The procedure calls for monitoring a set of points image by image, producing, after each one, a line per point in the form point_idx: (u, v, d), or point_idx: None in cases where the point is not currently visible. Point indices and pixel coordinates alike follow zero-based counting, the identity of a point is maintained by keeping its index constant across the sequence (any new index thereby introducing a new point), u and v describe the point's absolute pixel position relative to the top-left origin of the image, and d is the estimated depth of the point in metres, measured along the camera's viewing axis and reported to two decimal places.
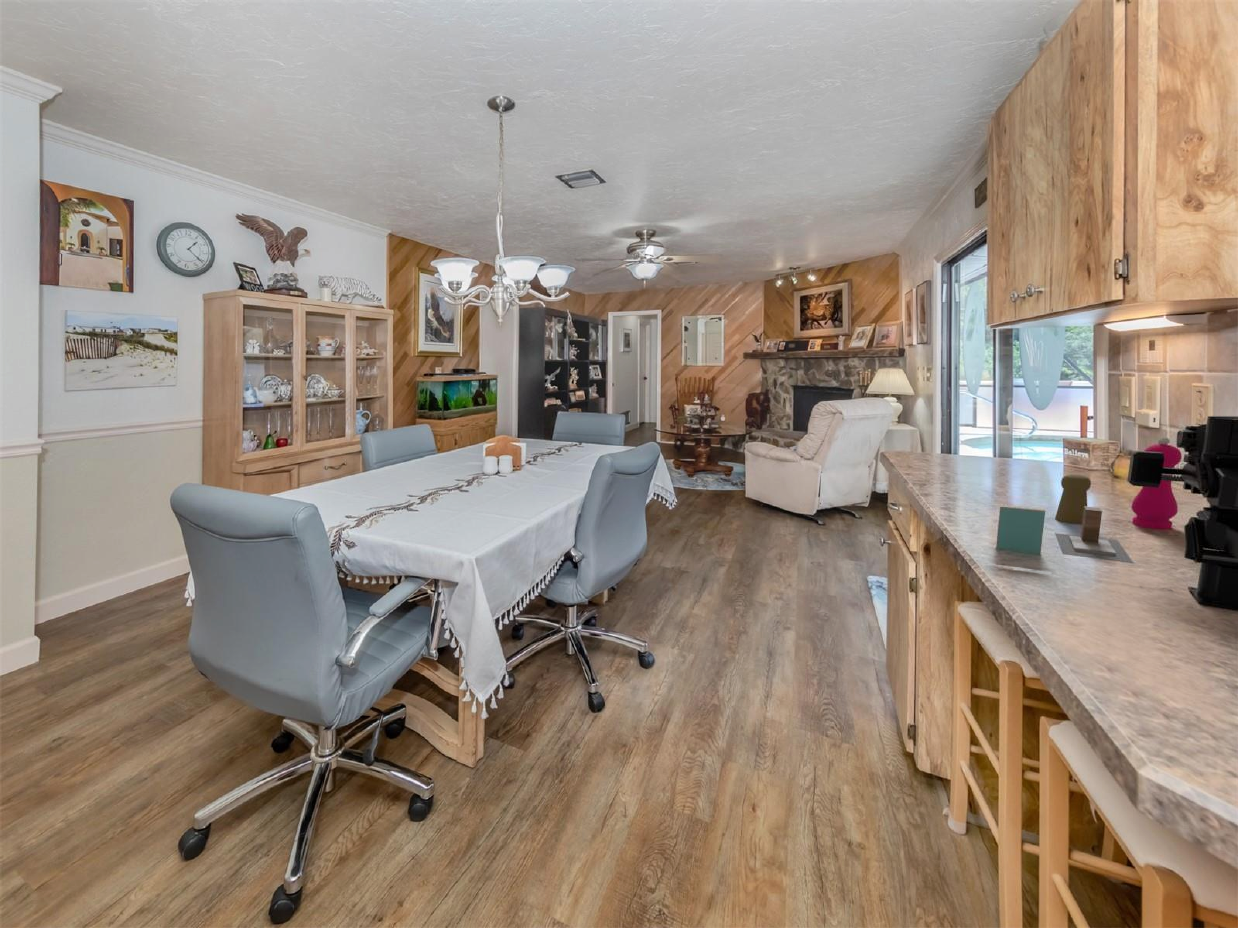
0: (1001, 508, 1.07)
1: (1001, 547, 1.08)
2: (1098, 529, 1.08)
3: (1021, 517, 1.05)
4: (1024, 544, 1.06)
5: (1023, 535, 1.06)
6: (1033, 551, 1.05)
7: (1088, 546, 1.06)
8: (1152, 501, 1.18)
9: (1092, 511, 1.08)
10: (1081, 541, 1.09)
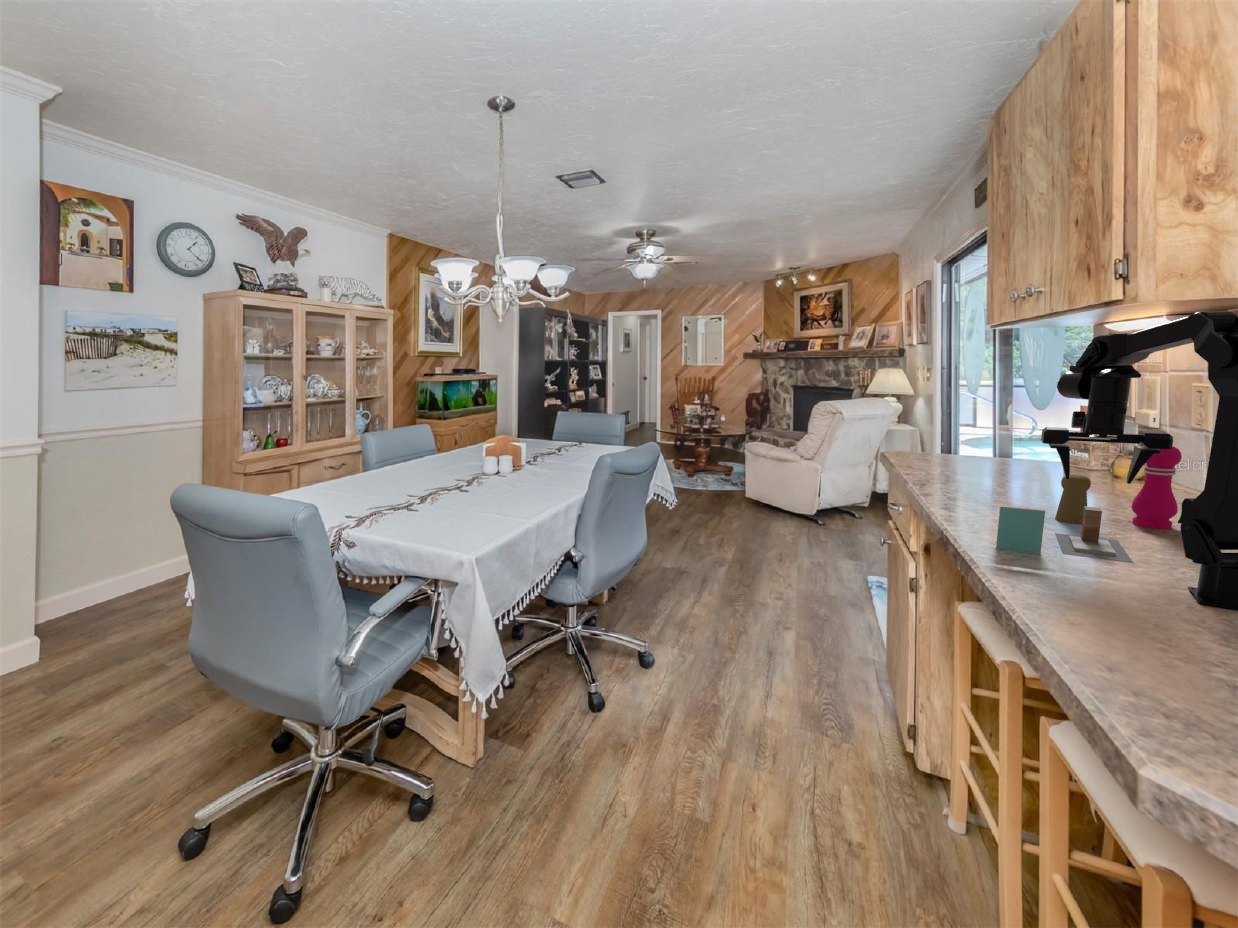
0: (1001, 508, 1.07)
1: (1001, 547, 1.08)
2: (1098, 529, 1.08)
3: (1021, 517, 1.05)
4: (1024, 544, 1.06)
5: (1023, 535, 1.06)
6: (1033, 551, 1.05)
7: (1088, 546, 1.06)
8: (1152, 501, 1.18)
9: (1092, 511, 1.08)
10: (1081, 541, 1.09)
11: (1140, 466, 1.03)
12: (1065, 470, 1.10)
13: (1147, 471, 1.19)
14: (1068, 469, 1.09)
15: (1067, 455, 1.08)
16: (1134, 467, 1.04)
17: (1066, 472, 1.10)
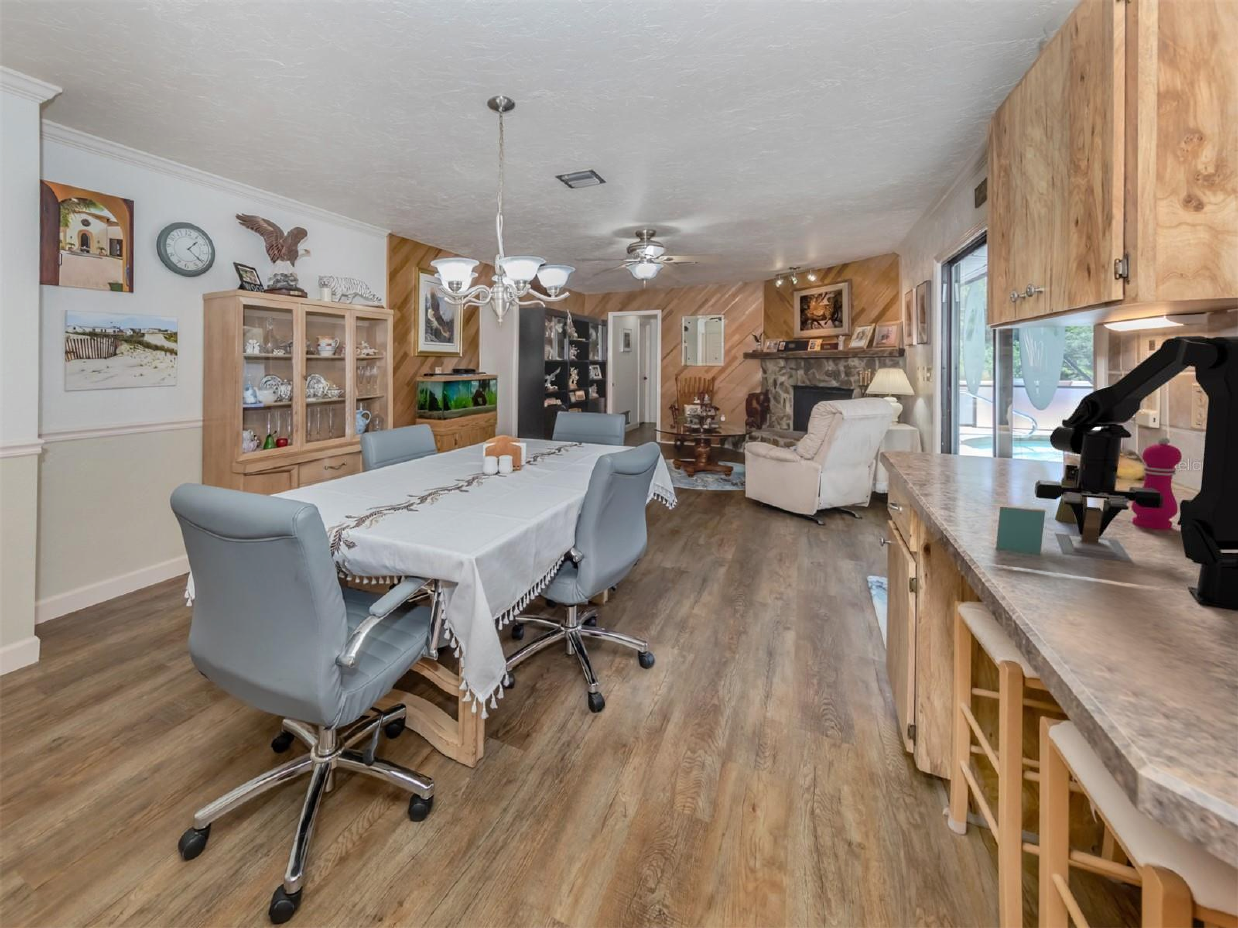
0: (1001, 508, 1.07)
1: (1001, 547, 1.08)
2: (1098, 529, 1.08)
3: (1021, 517, 1.05)
4: (1024, 544, 1.06)
5: (1023, 535, 1.06)
6: (1033, 551, 1.05)
7: (1088, 546, 1.06)
8: None
9: (1092, 511, 1.08)
10: (1081, 541, 1.09)
11: (1109, 521, 1.07)
12: (1079, 526, 1.10)
13: (1147, 471, 1.19)
14: (1082, 525, 1.10)
15: (1081, 512, 1.08)
16: (1103, 521, 1.07)
17: (1080, 528, 1.10)
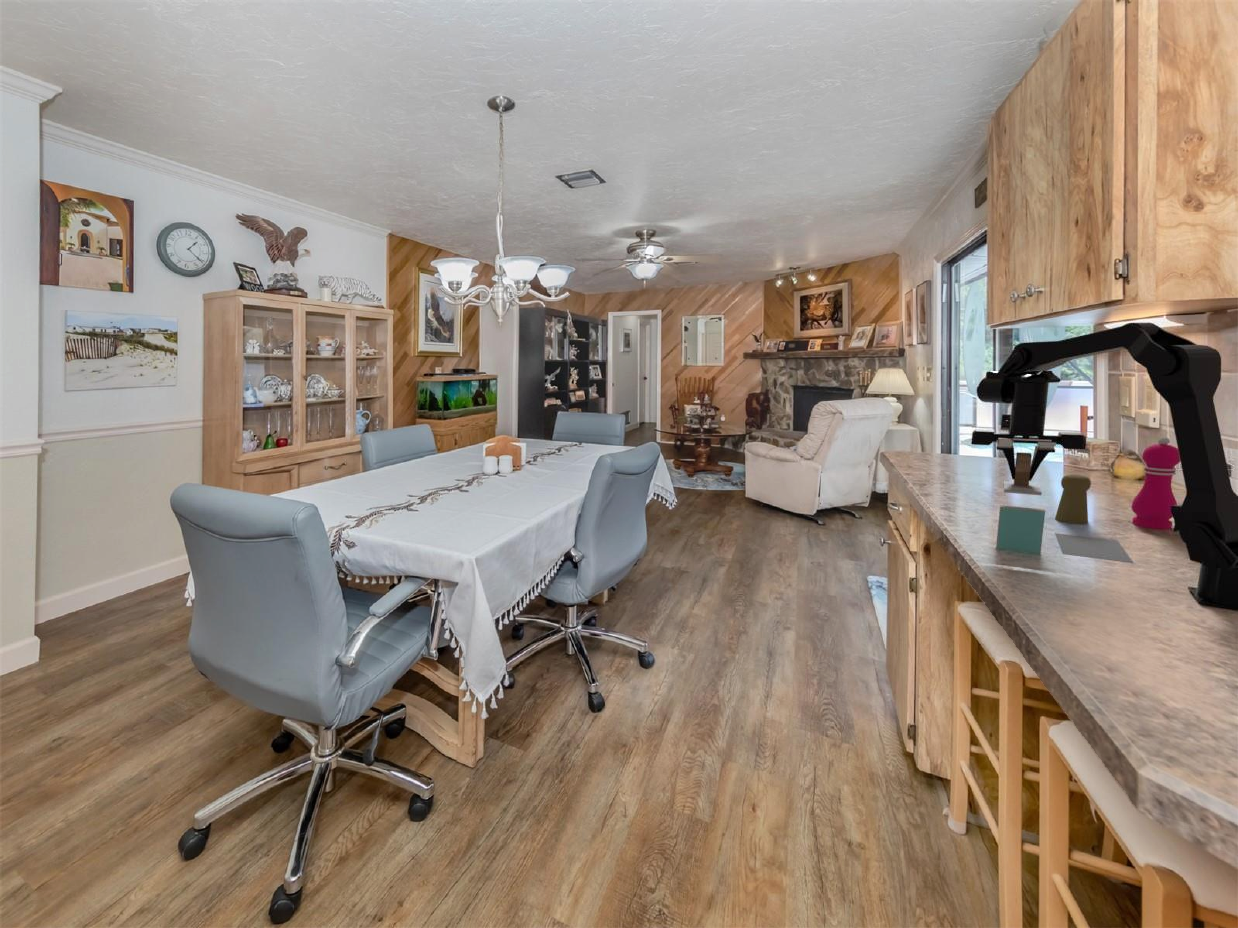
0: (1001, 508, 1.07)
1: (1001, 547, 1.08)
2: (1028, 473, 1.13)
3: (1021, 517, 1.05)
4: (1024, 544, 1.06)
5: (1023, 535, 1.06)
6: (1033, 551, 1.05)
7: (1018, 488, 1.11)
8: (1152, 501, 1.18)
9: (1022, 455, 1.13)
10: (1013, 485, 1.14)
11: (1038, 464, 1.12)
12: (1011, 471, 1.15)
13: (1147, 471, 1.19)
14: (1013, 470, 1.14)
15: (1012, 456, 1.13)
16: (1033, 465, 1.12)
17: (1012, 473, 1.15)
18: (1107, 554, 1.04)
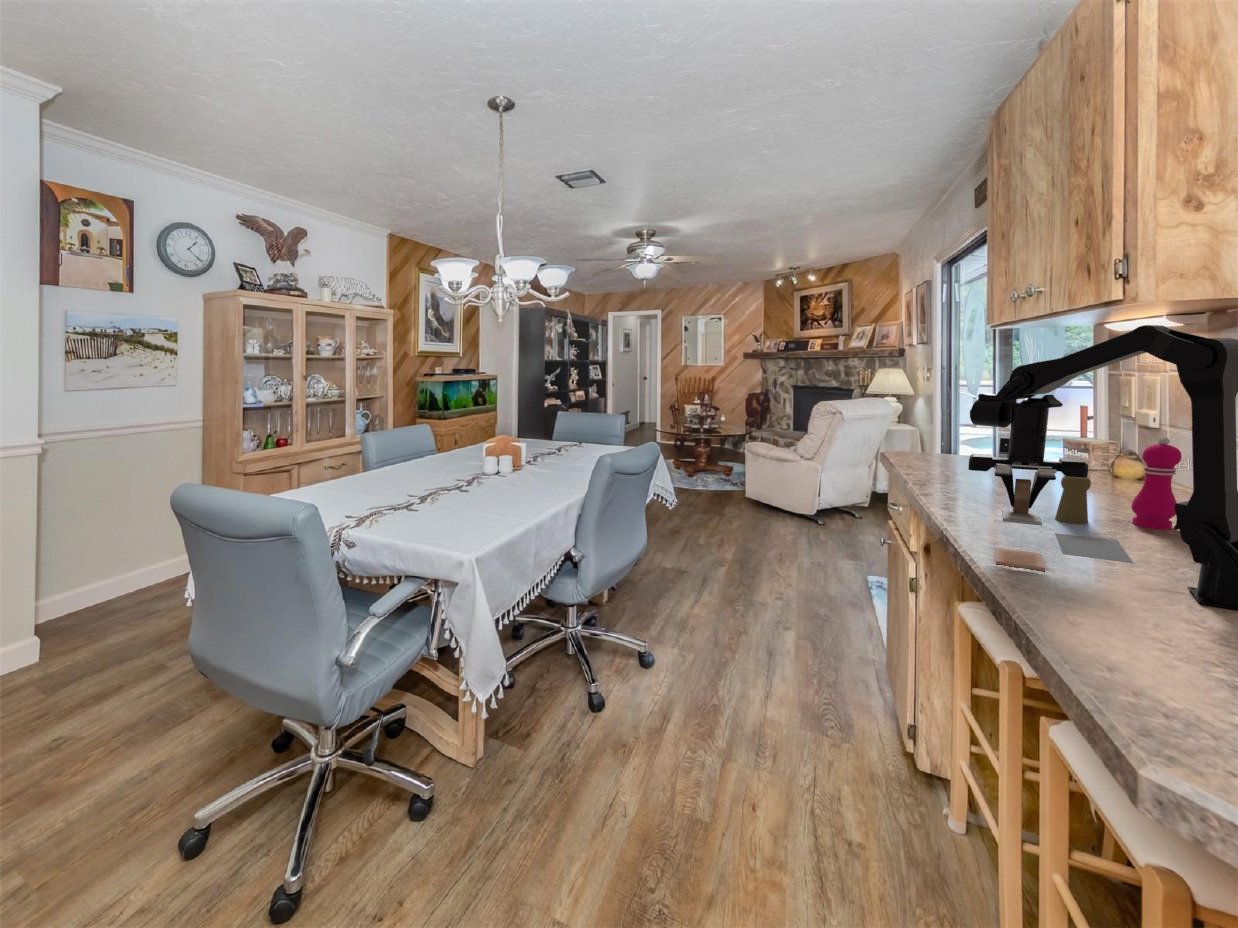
0: None
1: None
2: (1028, 500, 1.08)
3: None
4: None
5: None
6: None
7: (1017, 517, 1.06)
8: (1152, 501, 1.18)
9: (1022, 482, 1.08)
10: (1012, 513, 1.09)
11: (1038, 492, 1.07)
12: (1010, 498, 1.10)
13: (1147, 471, 1.19)
14: (1012, 497, 1.10)
15: (1011, 483, 1.09)
16: (1033, 493, 1.07)
17: (1011, 500, 1.10)
18: (1107, 554, 1.04)
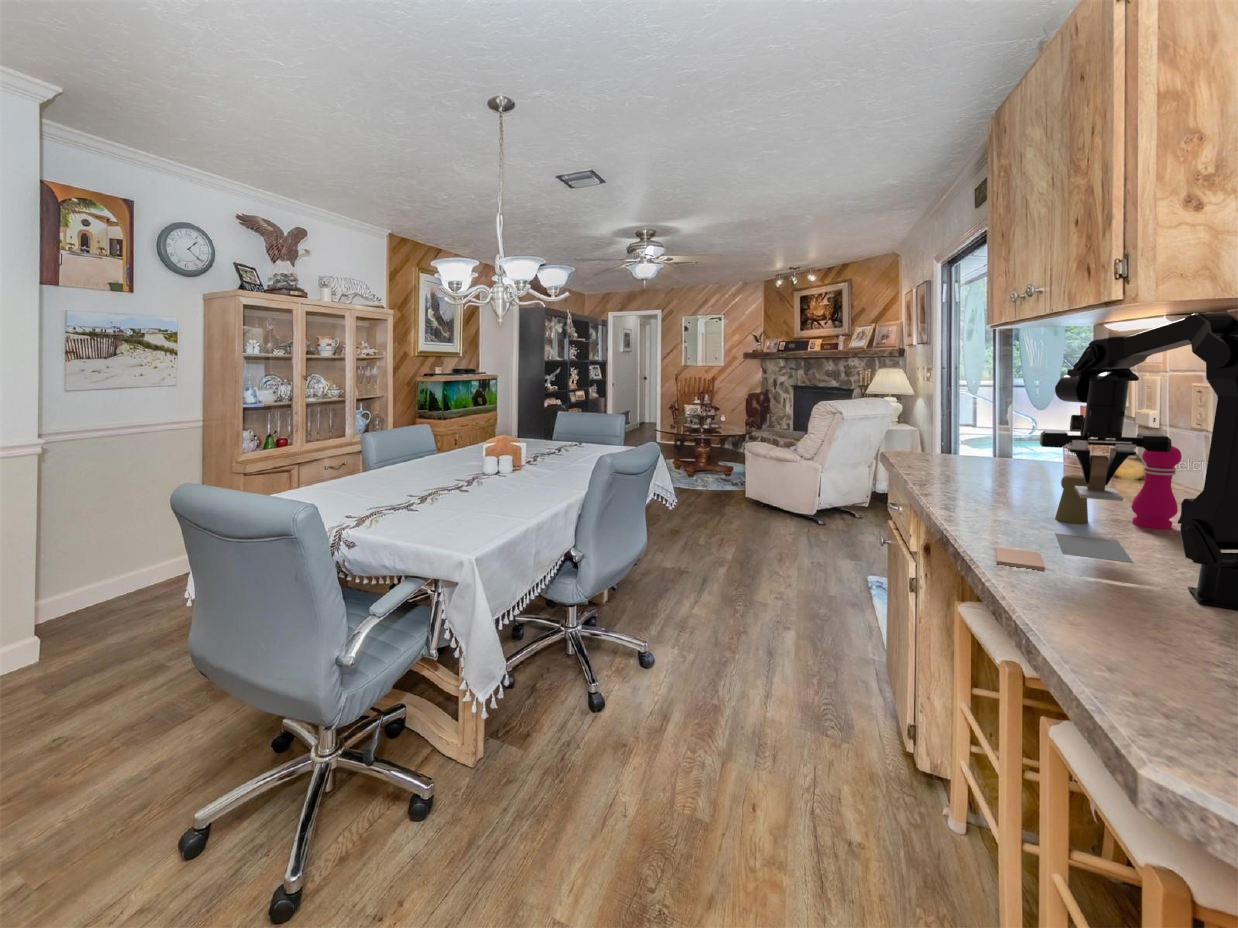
0: None
1: None
2: (1105, 477, 1.06)
3: None
4: None
5: None
6: None
7: (1095, 493, 1.05)
8: (1152, 501, 1.18)
9: (1098, 458, 1.06)
10: (1087, 489, 1.08)
11: (1116, 468, 1.05)
12: (1085, 475, 1.08)
13: (1147, 471, 1.19)
14: (1088, 473, 1.08)
15: (1087, 459, 1.07)
16: (1110, 469, 1.05)
17: (1086, 477, 1.08)
18: (1107, 554, 1.04)
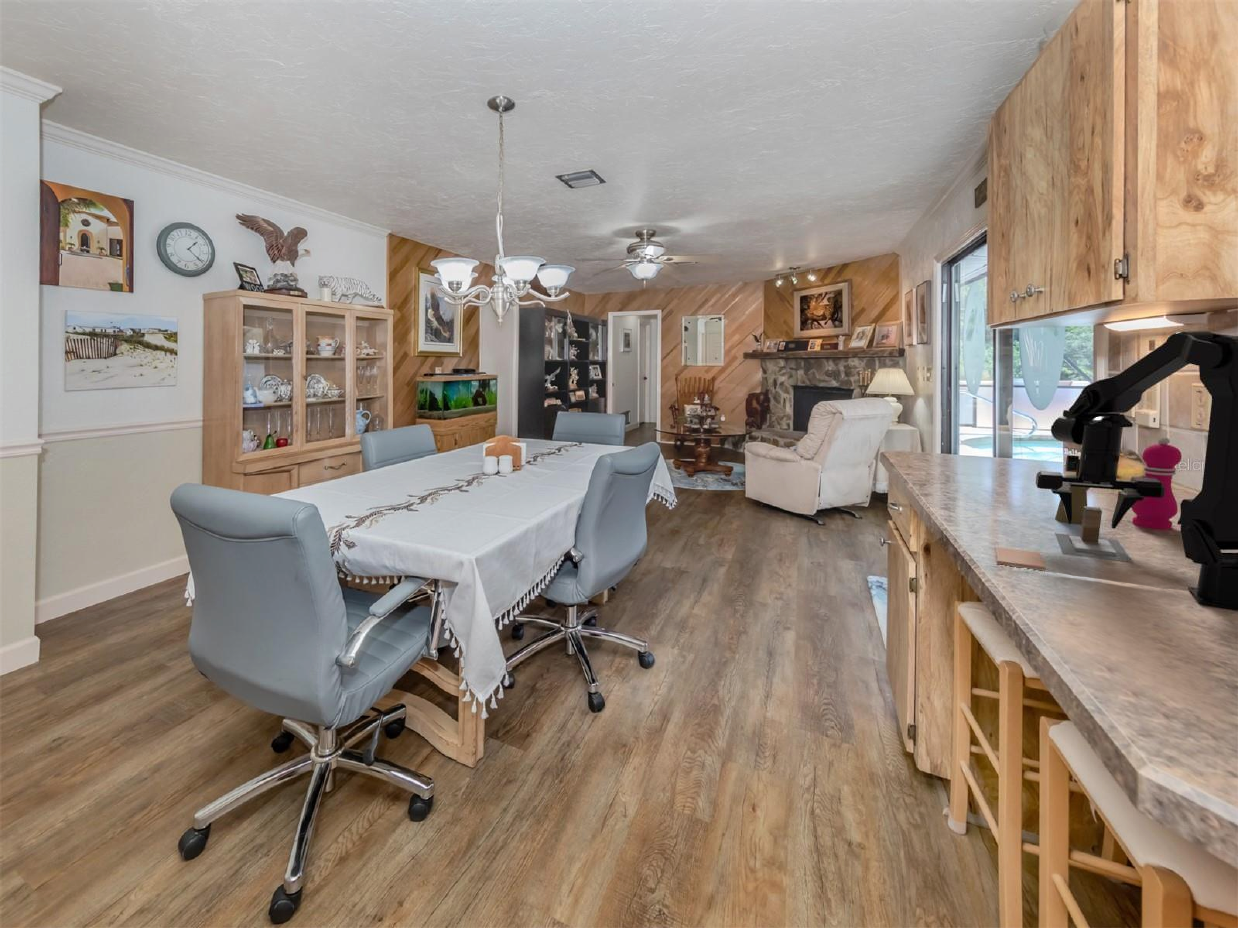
0: None
1: None
2: (1098, 529, 1.08)
3: None
4: None
5: None
6: None
7: (1088, 546, 1.07)
8: (1152, 501, 1.18)
9: (1092, 511, 1.08)
10: (1081, 541, 1.09)
11: (1124, 512, 1.05)
12: (1067, 515, 1.11)
13: (1147, 471, 1.19)
14: (1070, 514, 1.10)
15: (1069, 501, 1.09)
16: (1118, 513, 1.06)
17: (1068, 517, 1.11)
18: None
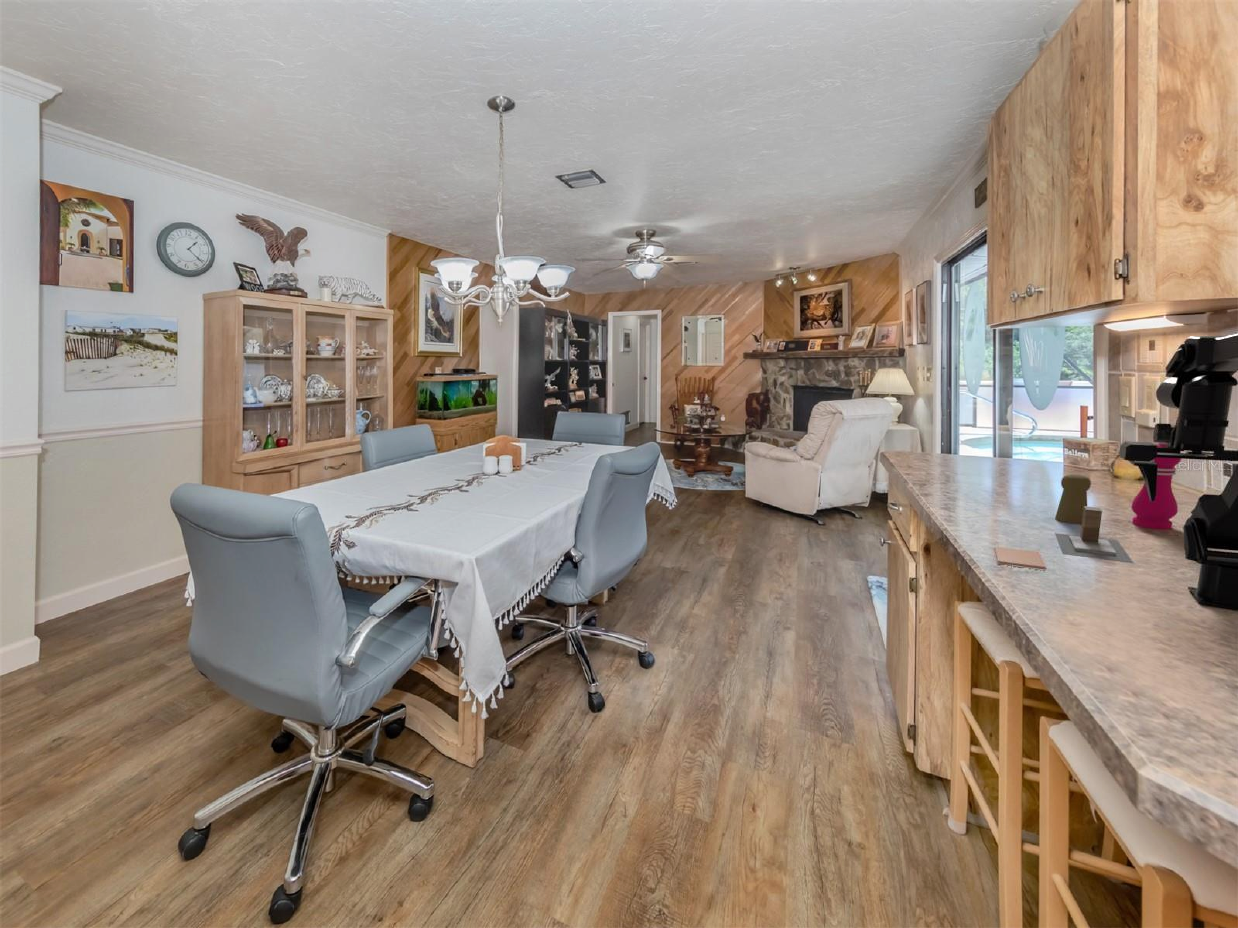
0: None
1: None
2: (1098, 529, 1.08)
3: None
4: None
5: None
6: None
7: (1088, 546, 1.07)
8: (1152, 501, 1.18)
9: (1092, 511, 1.08)
10: (1081, 541, 1.09)
11: None
12: (1151, 491, 0.96)
13: None
14: (1154, 490, 0.95)
15: (1154, 474, 0.94)
16: None
17: (1152, 493, 0.96)
18: None
